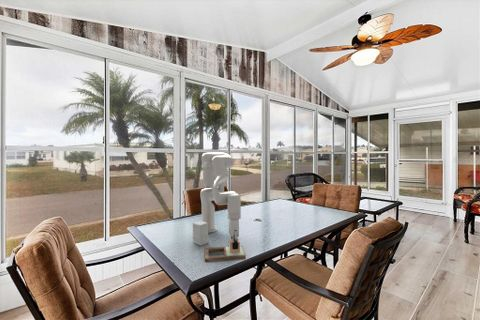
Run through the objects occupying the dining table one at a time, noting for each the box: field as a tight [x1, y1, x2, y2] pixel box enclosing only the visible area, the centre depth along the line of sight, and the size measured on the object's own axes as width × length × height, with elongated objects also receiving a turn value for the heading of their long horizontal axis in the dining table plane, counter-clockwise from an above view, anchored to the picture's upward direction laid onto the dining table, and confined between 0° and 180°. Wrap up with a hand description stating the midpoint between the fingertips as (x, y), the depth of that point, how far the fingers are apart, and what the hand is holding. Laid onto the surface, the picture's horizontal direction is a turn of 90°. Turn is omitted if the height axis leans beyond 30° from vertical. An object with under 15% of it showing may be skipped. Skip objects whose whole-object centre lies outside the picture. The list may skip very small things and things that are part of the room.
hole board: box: [204, 244, 247, 263], centre depth 126 cm, size 14×22×2 cm, turn 98°
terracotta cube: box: [228, 238, 241, 253], centre depth 127 cm, size 6×6×6 cm
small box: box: [192, 220, 209, 247], centre depth 142 cm, size 8×6×13 cm
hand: (234, 246), depth 126 cm, fingers open, 6 cm apart
